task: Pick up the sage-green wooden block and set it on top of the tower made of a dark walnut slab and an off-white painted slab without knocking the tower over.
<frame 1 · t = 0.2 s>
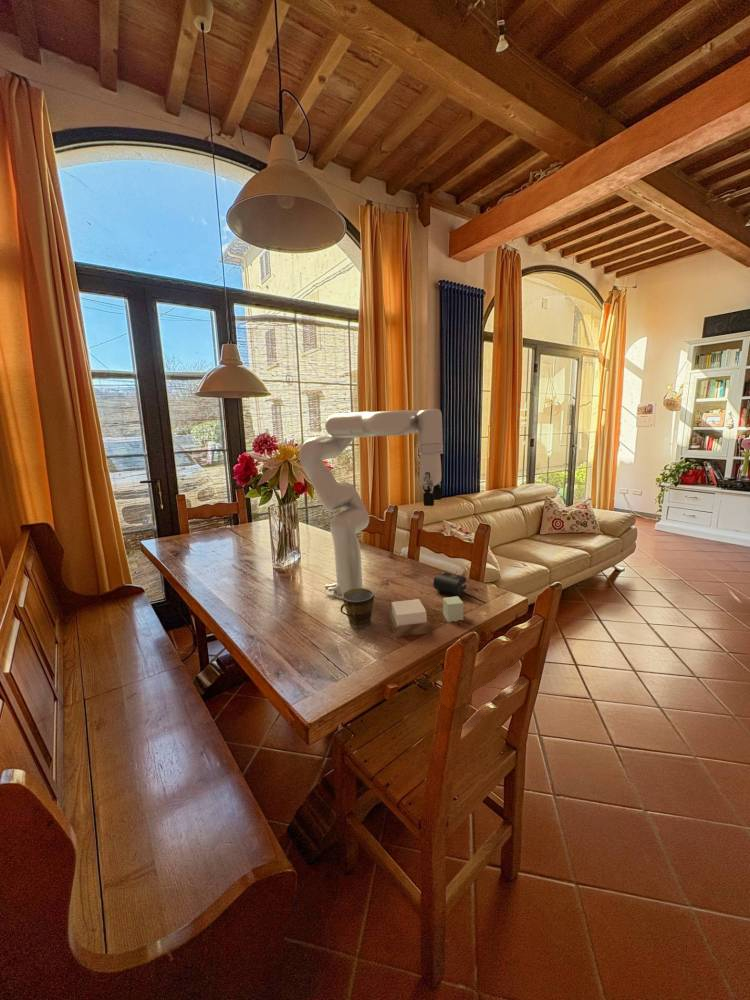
hand: (432, 502, 130), 37 cm above the table, tool pointing down, fingers open, 9 cm apart
ceramic cup: (356, 626, 128), on the table
walnut slab: (409, 627, 126), on the table, touching white slab
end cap: (450, 593, 148), on the table
green block: (453, 617, 130), on the table
white slab: (408, 617, 126), point 3 cm above the table, touching walnut slab
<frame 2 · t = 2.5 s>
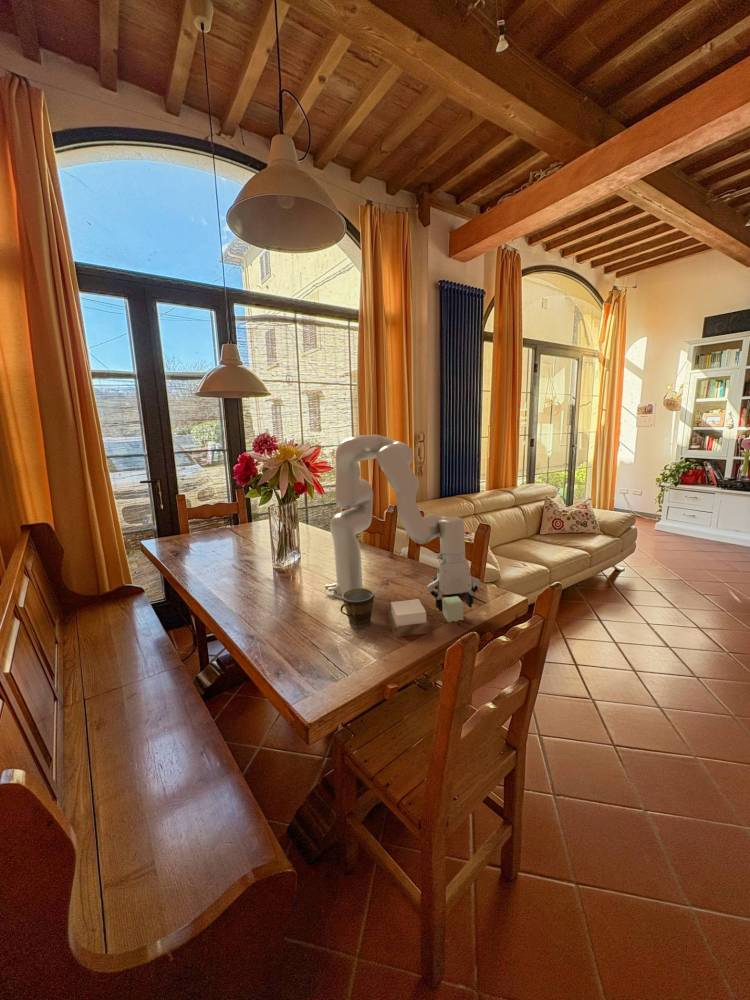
hand: (454, 607, 129), 3 cm above the table, tool pointing down, fingers open, 9 cm apart
nothing on the table moved.
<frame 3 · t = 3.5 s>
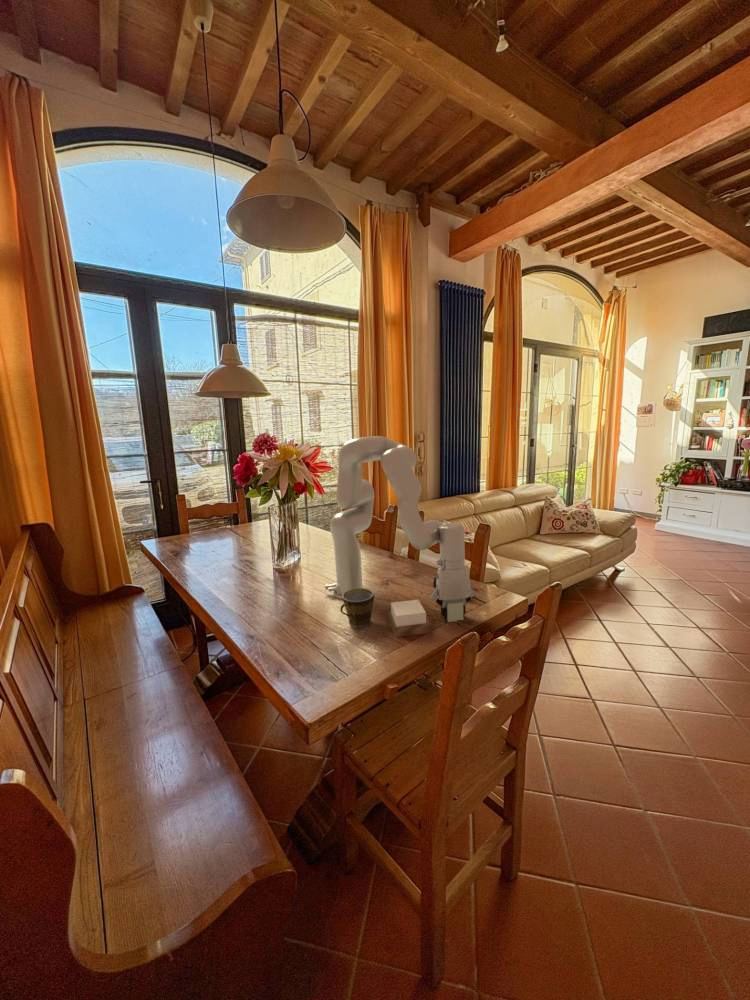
hand: (453, 616, 130), 0 cm above the table, tool pointing down, fingers closed on green block, 5 cm apart
green block: (453, 617, 130), on the table, touching gripper
everything else where it was.
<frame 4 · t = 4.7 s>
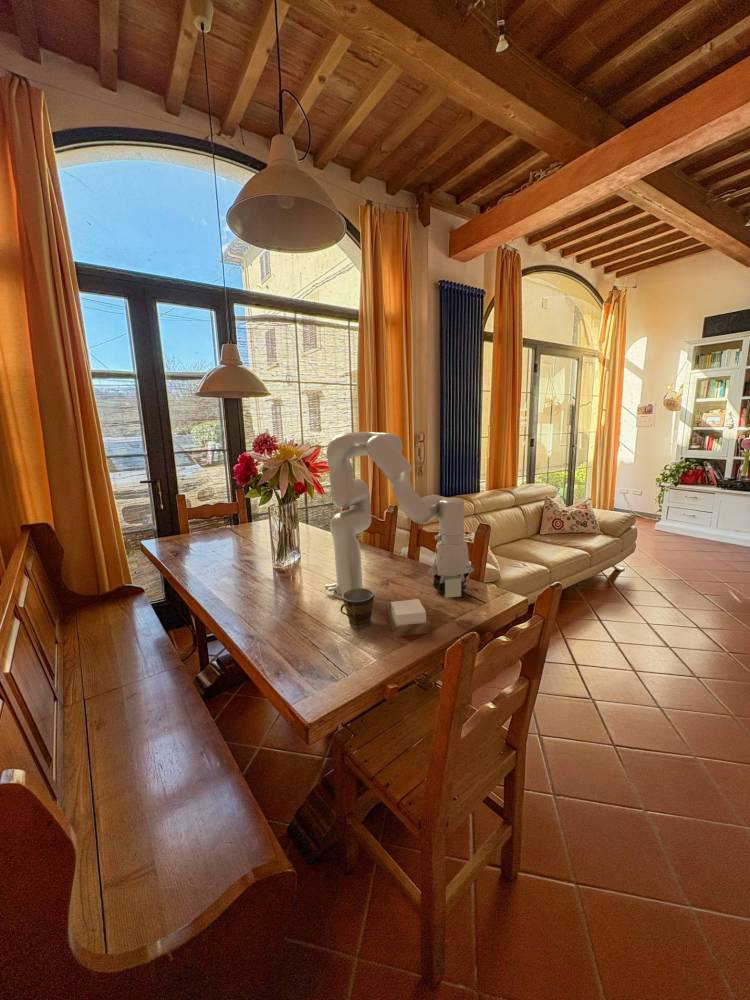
hand: (450, 592, 129), 9 cm above the table, tool pointing down, fingers closed on green block, 5 cm apart
green block: (450, 593, 129), point 8 cm above the table, touching gripper
everything else where it was.
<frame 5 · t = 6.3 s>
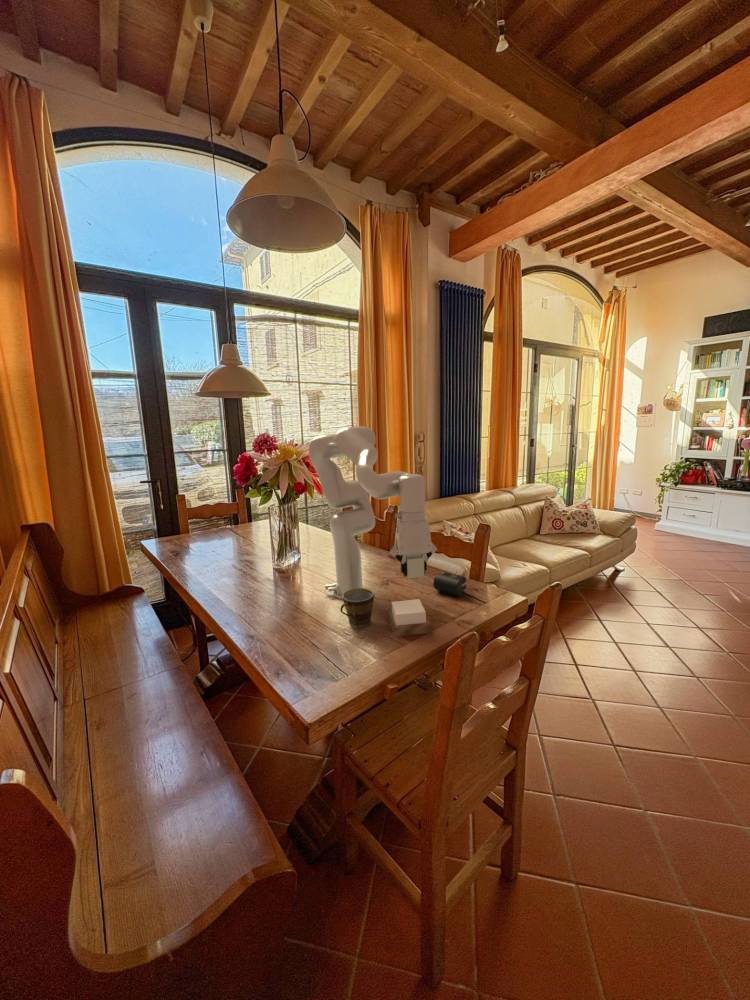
hand: (413, 573, 124), 17 cm above the table, tool pointing down, fingers closed on green block, 5 cm apart
green block: (414, 574, 124), point 17 cm above the table, touching gripper
everything else where it was.
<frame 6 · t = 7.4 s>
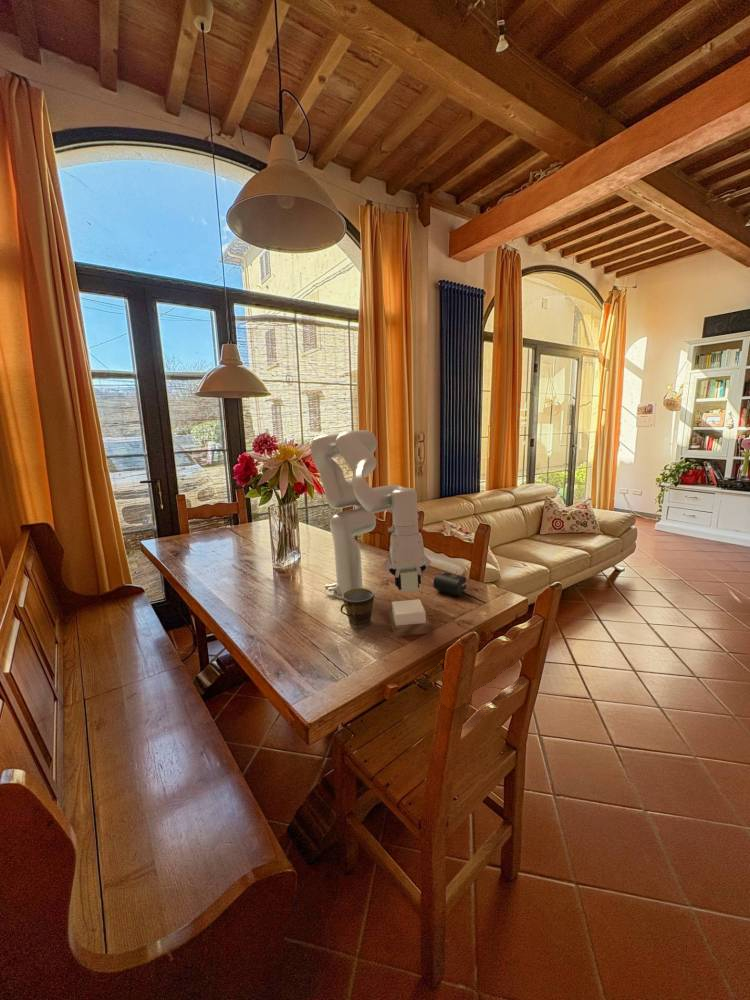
hand: (408, 586, 123), 13 cm above the table, tool pointing down, fingers closed on green block, 5 cm apart
green block: (408, 588, 123), point 13 cm above the table, touching gripper
everything else where it was.
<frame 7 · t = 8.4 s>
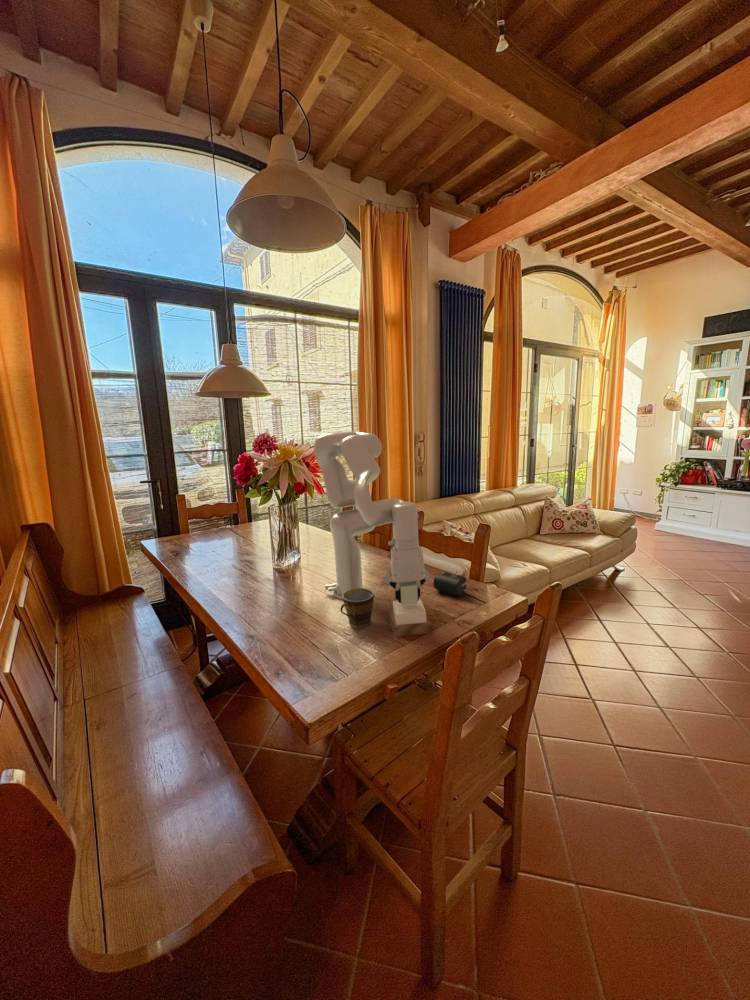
hand: (407, 599, 125), 9 cm above the table, tool pointing down, fingers closed on green block, 4 cm apart
walnut slab: (409, 627, 126), on the table
green block: (408, 601, 125), point 8 cm above the table, touching gripper
white slab: (409, 616, 126), point 3 cm above the table
everything else where it was.
when the fingers open (9 cm above the table, at t = 8.5 s): green block drops 2 cm, resting on white slab.
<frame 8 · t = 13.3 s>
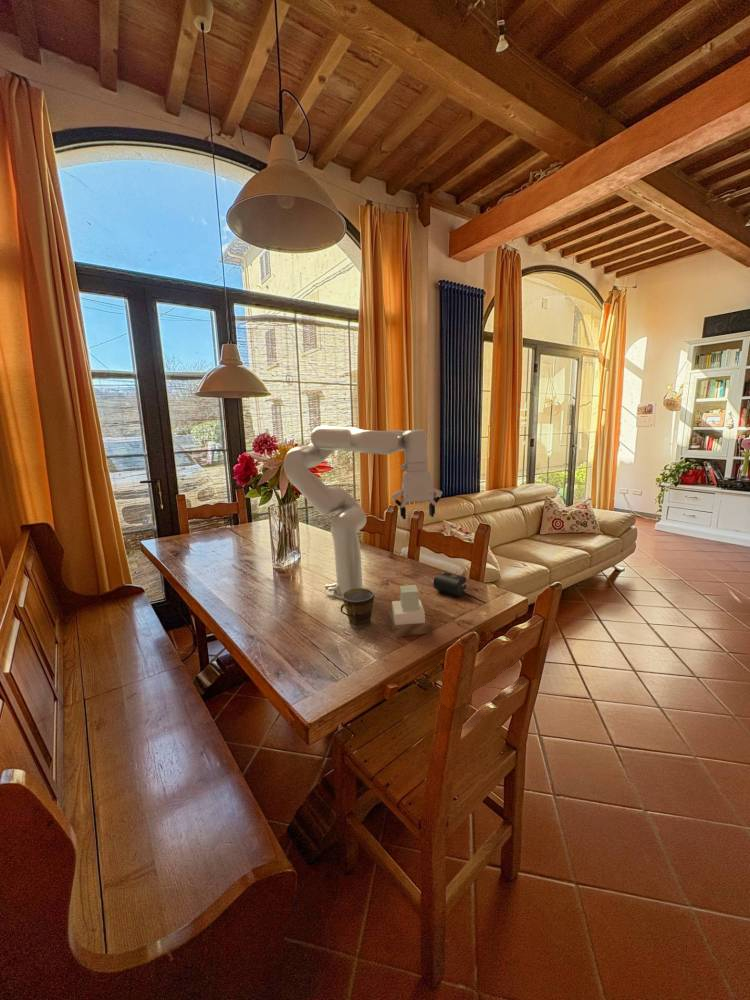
hand: (417, 517, 138), 30 cm above the table, tool pointing down, fingers open, 9 cm apart
walnut slab: (409, 627, 126), on the table, touching white slab
green block: (409, 606, 125), point 6 cm above the table, touching white slab
white slab: (408, 616, 126), point 3 cm above the table, touching green block, walnut slab
everything else where it was.
at the end: green block 0.6 cm off-centre on the white slab, point 3.5 cm above the white slab's base; white slab 0.3 cm from the walnut slab (horizontally); green block tilted 0° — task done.
